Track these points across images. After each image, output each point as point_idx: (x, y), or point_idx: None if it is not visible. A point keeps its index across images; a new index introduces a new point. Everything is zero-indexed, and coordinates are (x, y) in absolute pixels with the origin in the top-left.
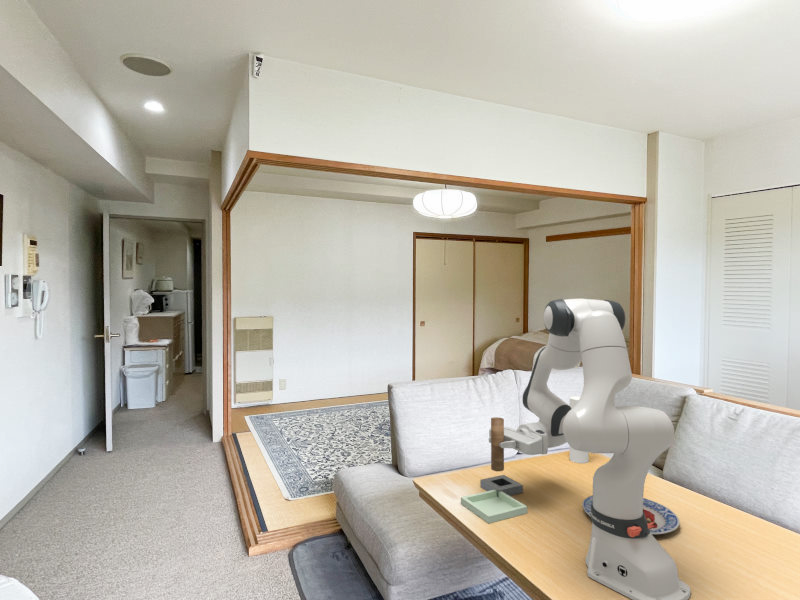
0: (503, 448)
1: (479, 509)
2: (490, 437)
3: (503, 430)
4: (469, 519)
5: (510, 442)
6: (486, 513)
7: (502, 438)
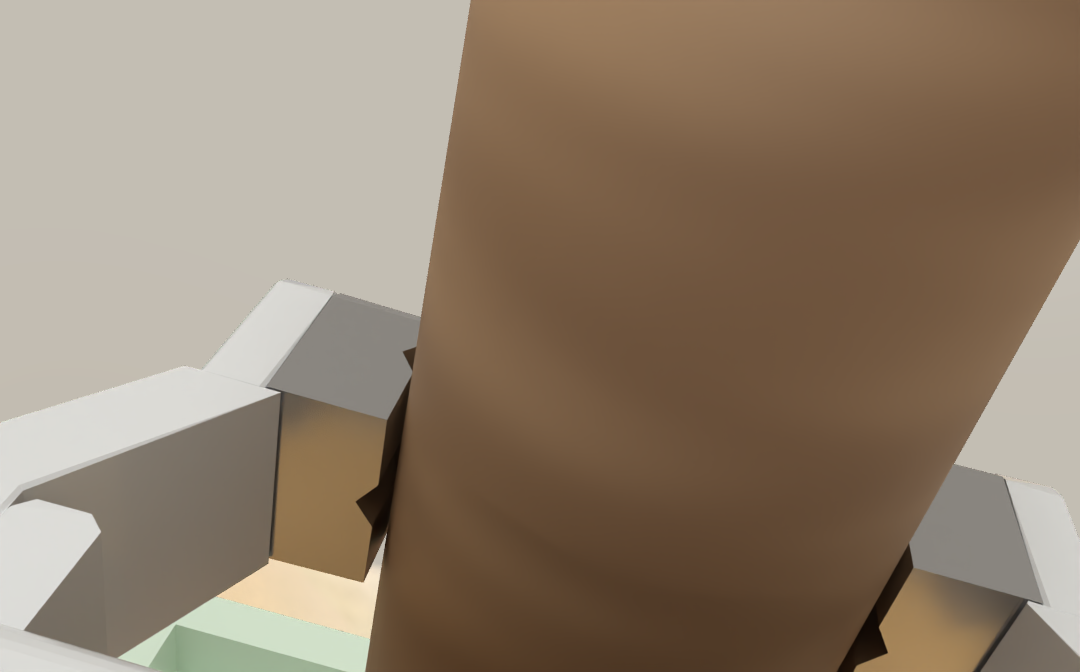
0: (378, 668)
1: (320, 634)
2: (1018, 490)
3: (491, 6)
4: (369, 615)
5: (28, 431)
6: (208, 612)
7: (422, 308)
